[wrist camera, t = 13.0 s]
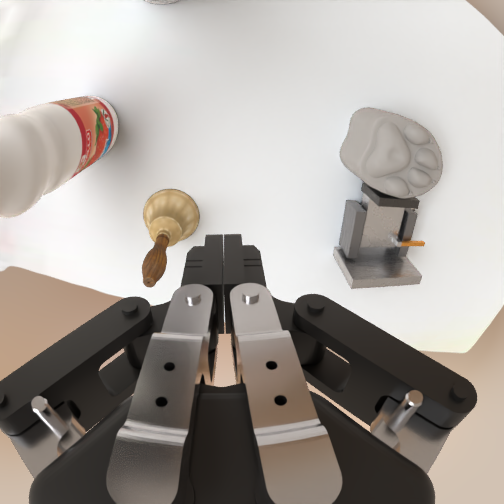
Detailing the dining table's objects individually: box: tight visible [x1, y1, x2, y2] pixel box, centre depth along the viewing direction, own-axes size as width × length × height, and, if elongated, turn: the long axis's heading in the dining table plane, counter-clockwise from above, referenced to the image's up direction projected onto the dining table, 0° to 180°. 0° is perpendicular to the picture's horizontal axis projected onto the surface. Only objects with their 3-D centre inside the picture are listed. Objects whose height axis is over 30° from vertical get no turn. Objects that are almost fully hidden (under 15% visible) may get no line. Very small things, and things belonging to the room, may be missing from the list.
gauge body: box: [333, 200, 422, 289], centre depth 43 cm, size 10×13×9 cm
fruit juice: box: [0, 96, 118, 218], centre depth 23 cm, size 9×9×28 cm
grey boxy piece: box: [360, 183, 425, 247], centre depth 42 cm, size 9×11×6 cm
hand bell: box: [142, 189, 199, 287], centre depth 36 cm, size 8×8×16 cm
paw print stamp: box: [340, 108, 443, 199], centre depth 36 cm, size 10×13×9 cm
